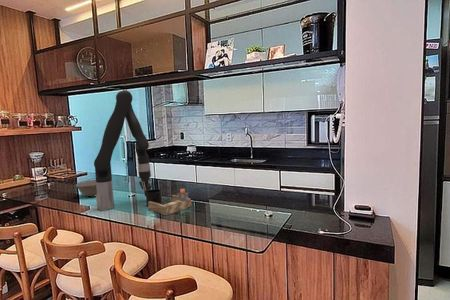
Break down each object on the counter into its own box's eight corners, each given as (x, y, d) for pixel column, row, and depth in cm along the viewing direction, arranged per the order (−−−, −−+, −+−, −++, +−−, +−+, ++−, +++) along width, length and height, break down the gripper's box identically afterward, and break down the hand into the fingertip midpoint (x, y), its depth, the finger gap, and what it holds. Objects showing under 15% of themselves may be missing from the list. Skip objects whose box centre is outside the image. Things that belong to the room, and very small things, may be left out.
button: (182, 196, 172) (182, 190, 171) (179, 196, 173) (179, 189, 173) (186, 195, 174) (185, 189, 173) (183, 194, 176) (182, 188, 175)
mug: (167, 202, 189) (166, 188, 188) (156, 207, 178) (155, 193, 177) (155, 201, 192) (154, 187, 191) (143, 206, 181) (142, 192, 180)
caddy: (165, 215, 162) (164, 199, 161) (148, 209, 174) (147, 195, 173) (191, 206, 176) (190, 192, 175) (174, 202, 188) (173, 188, 187)
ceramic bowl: (69, 199, 208) (68, 185, 207) (91, 191, 230) (90, 179, 229) (96, 200, 202) (95, 186, 201) (116, 191, 225) (115, 179, 224)
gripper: (133, 170, 192) (136, 196, 194) (144, 172, 183) (147, 198, 185) (143, 168, 197) (146, 193, 199) (155, 170, 188) (157, 196, 190)
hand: (146, 196), depth 192 cm, fingers closed
